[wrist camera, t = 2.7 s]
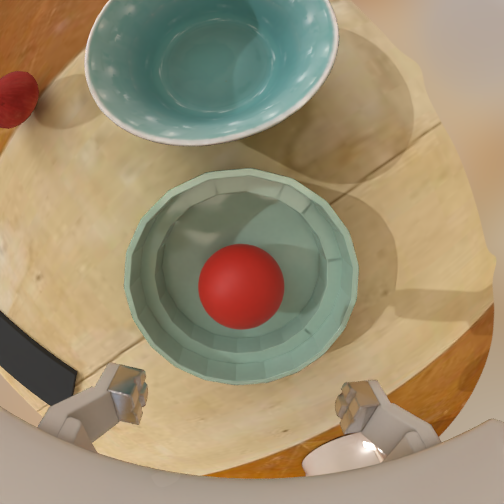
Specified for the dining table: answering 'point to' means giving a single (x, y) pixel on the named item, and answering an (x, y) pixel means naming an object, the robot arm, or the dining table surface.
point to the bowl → (208, 65)
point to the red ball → (241, 286)
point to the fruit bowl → (241, 232)
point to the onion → (17, 98)
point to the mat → (34, 365)
